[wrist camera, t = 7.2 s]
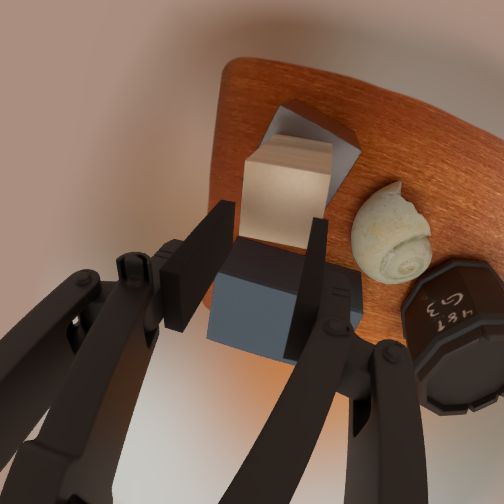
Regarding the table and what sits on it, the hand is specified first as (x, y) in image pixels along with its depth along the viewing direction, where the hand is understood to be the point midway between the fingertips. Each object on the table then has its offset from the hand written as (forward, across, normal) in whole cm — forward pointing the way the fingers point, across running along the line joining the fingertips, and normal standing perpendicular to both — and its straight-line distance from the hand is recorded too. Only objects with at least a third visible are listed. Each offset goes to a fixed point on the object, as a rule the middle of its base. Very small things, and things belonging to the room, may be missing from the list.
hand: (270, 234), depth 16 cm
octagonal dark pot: (+25, +26, -18) cm, 40 cm away
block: (+14, 0, 0) cm, 14 cm away
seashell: (+25, +12, -8) cm, 29 cm away
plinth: (+25, 0, 0) cm, 25 cm away
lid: (+16, +1, -21) cm, 27 cm away
